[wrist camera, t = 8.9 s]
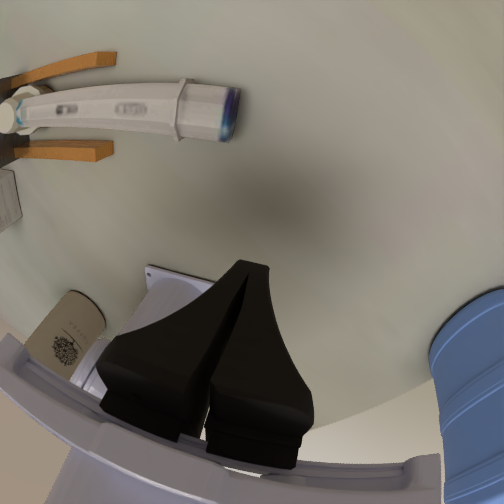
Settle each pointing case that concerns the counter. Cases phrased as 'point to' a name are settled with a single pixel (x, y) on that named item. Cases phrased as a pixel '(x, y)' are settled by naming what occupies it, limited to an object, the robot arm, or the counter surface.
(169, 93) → the electric toothbrush
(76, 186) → the counter surface
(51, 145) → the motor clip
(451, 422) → the water jug
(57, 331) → the travel mug
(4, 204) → the supplement box
